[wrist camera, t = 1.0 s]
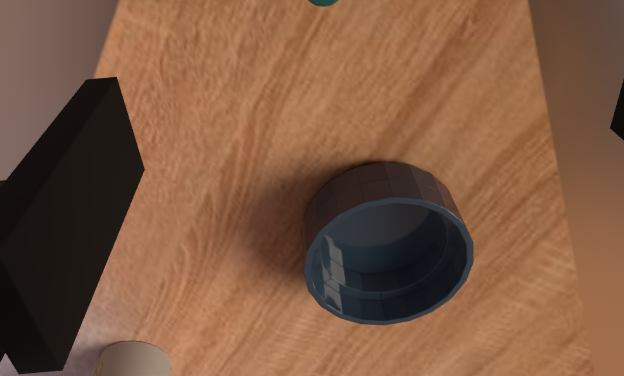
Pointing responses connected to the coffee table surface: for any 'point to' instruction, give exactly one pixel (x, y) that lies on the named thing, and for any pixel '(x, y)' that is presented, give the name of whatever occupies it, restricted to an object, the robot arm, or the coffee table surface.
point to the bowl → (384, 245)
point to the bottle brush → (323, 2)
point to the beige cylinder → (133, 360)
